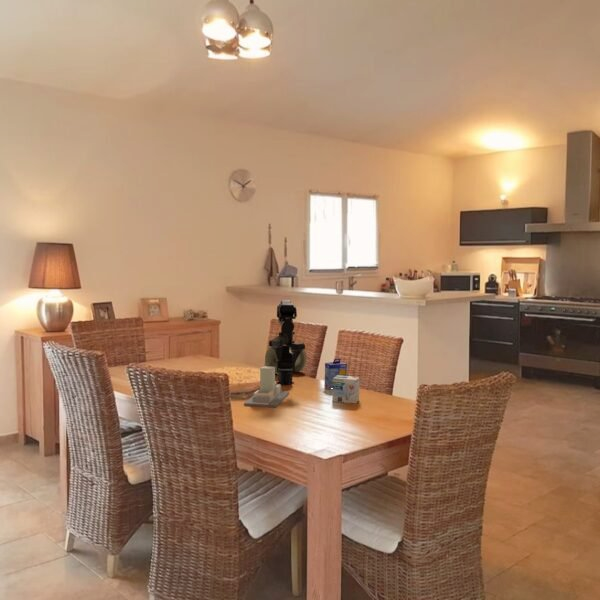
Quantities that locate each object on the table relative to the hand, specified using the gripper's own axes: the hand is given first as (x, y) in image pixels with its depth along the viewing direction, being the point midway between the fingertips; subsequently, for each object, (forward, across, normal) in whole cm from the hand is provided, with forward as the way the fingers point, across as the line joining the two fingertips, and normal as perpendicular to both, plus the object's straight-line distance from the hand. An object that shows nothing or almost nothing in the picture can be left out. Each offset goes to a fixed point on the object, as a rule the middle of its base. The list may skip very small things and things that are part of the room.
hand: (286, 362), depth 300 cm
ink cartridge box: (+13, +14, +20) cm, 28 cm away
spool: (+13, -28, +30) cm, 43 cm away
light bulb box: (+13, +34, +2) cm, 37 cm away
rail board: (+13, +7, -20) cm, 25 cm away
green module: (+12, +7, -20) cm, 24 cm away
